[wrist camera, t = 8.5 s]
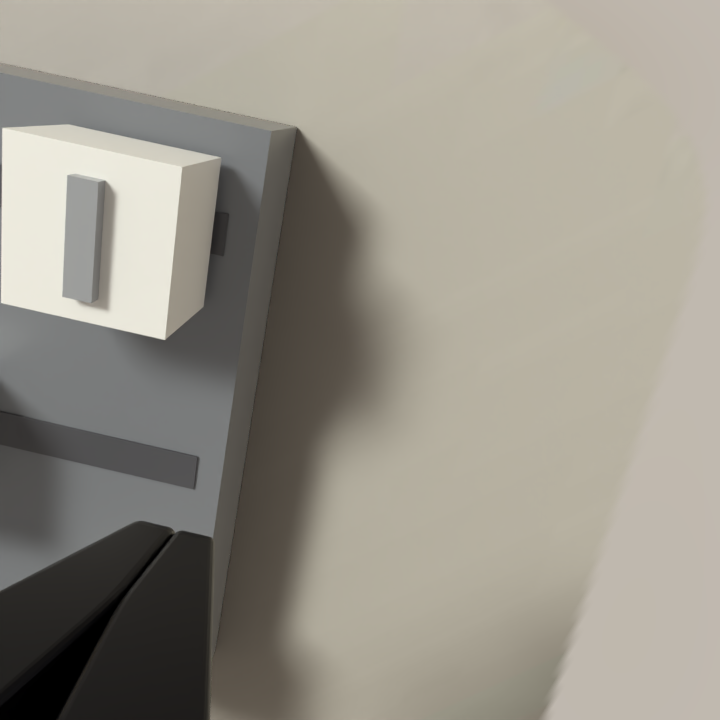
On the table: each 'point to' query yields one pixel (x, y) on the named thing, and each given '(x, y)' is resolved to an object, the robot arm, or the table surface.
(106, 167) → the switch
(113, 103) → the console
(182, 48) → the table surface
